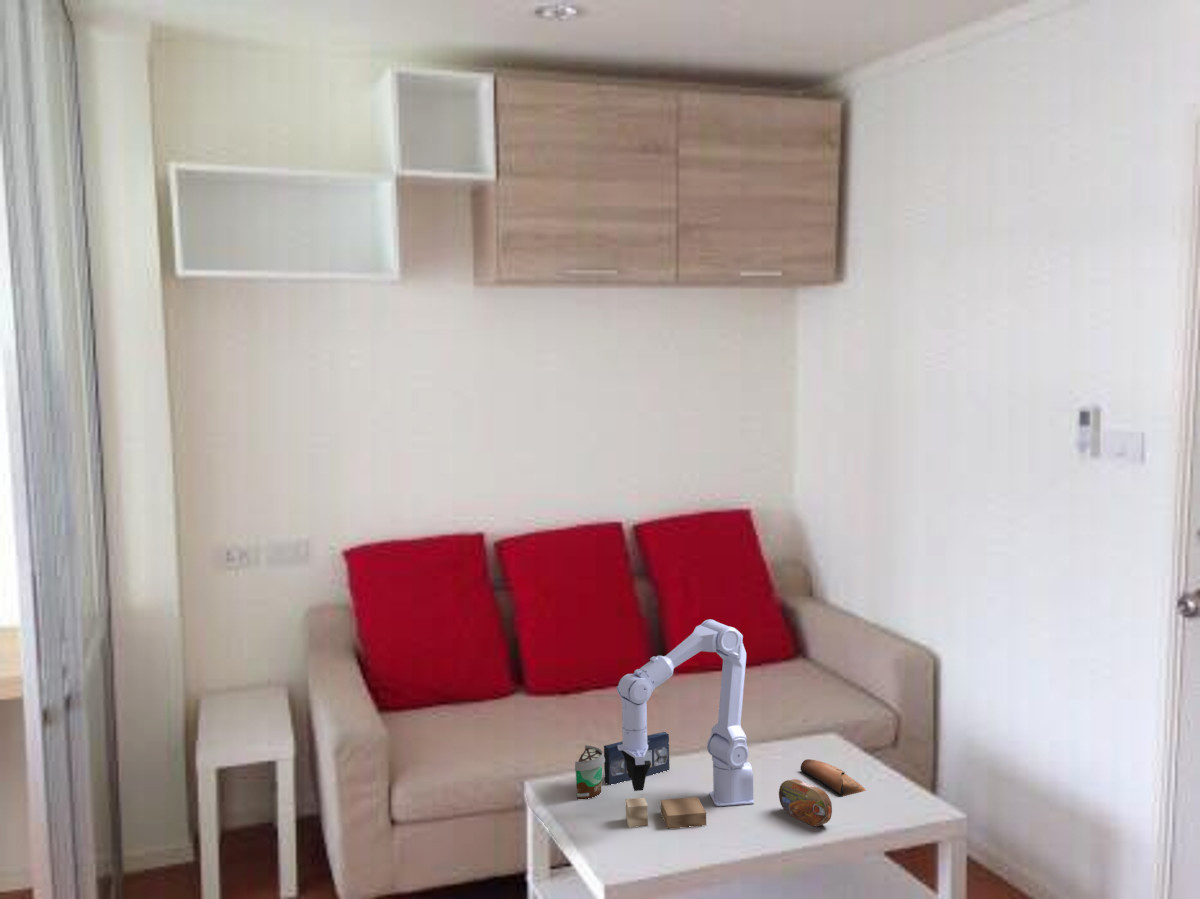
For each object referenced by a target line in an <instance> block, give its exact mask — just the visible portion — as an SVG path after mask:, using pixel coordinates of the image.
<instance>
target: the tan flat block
mask: <svg viewBox="0 0 1200 899" xmlns="http://www.w3.org/2000/svg"><path fill="white" fill-rule="evenodd" d="M660 814H661V816H662V818H664V819H663V821H664V824H665V825H667V826H666V827H668V828H673V829H681V828H680V827H686V828H690V827H689V826H698V827H703V826H702V825H706V826H707V812H706V810H705V808H704V806H703V805H702V802H701V800H700V799H699V797H698V796H693V797H681V798H680V797H679V798H669V799H660ZM668 828H667V829H668Z"/></svg>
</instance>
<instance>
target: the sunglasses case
mask: <svg viewBox="0 0 1200 899" xmlns="http://www.w3.org/2000/svg"><path fill="white" fill-rule="evenodd" d="M801 762H802V763H801V765H800V771H801V772H802V773H805V774H806V775H808V776H810V777H813V778H815V779H816V780H817V781H820V782H821V783H822V784H824V785H826V786H827V787H829V788H830V789H831V790H833V791H835V792H836V793H838V795H839V794H840V795H841V796H842V797H847V796H850V795H851V796H852V795H854V794H859V793H862V792H865V791H867V790H866V788H865V787H864V786H862V784H860V783H859V782H858V781H856V780H855V779H854V778H852V777H851V776H849V775H848V774H846V772H845V771H844V770H842V769H841V768H839V767H836V766H833V765H831V764H829V763H827V762H823V761H821V760H816V759H808V758H807V759H804V760H803V761H801Z"/></svg>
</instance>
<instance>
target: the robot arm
mask: <svg viewBox="0 0 1200 899" xmlns="http://www.w3.org/2000/svg"><path fill="white" fill-rule="evenodd" d="M743 638H744V635H743V634H742V633H741V632H740V631H739V630H738V629H737V628H735V627H732V626H730V625H729V626H728V625H726V624H723V623H720V622H719V621H716V620H714V619H706V620H704V621H703V622H701V624H699V625H696V626H695V628H694V630H693V632H692V633H691V634H690V635H688V636H687V637H686V638H685V639H684V640H683V641H682V642H681V643H679V644H678V645H676V647H675V648H673V649H672V650H670V652H668V653H667V654H666V655H664V656H663V655H657V656H652V657H650V658H649V660H650V661H648V662H647V663H645V664H644V665H643V666H641V667H640V668H637V669H635V670H634V672H633V673H627V674H625V675H624V676H622V677H621V678H620V680H619V681H618V685H617V686H616V691H617V694H618V695H619V696H620V699H621V700H620V702H621V725H622V726H621V727H622V730H621V731H622V741H623V744H622V745H618V750H620V751H622V753H623V755H624V758H625V762H626V767H627V772H628V776H629V778H631V779H632V780H631V783H632V789H633V792H639V791H644V787H645V783H646V778H647V776H646V775H647V772H648V770H649V768H650V766H651V762H650V761H644V756H645V754H646V752H647V750H648V744H647V735H648V717H647V716H648V713H647V712H648V711H647V710H648V709H647V706H648V705H647V702H648V700H649V699H650V698H651V696H652V693H653V692H654V691H655V690H656V688H658V687H659V686H661V685H662V684H663V683H664V682H666V681H667V680H668V679H670V678H671V677H672V676H673V675H674V669H675V668H677V667H678V666H680V665H681V664H683V663H684V662H686V661H687V660H690V658H693V656H695V655H697V654H698V653H700V652H707V653H716V654H717V655H719V657H720V658H721V659H722V670H721V680H720V681H721V682H720V692H719V693H720V694H719V705H718V718H717V723H716V724H714V725H713V726H712V728H711V733H710V736H709V738H708V740H707V743H706V750H707V752H708V754H709V755H710V756H711V761H712V770H713V771H712V776H713V777H712V782H713V786H712V787H713V788H712V789H713V790H711V791H709V792H708V794H709V796H710V798H711V800H712V802H713V803H714V805H715V806H716V807H722V806H723V807H725V806H726V807H727V806H738V805H751V804H755V800H754V774H753V768H752V767H753V766H752V765H751V762H749V761H748V758H749V755H750V754H749V748H748V746H747V741H748V739H747V735H746V733H745V731H744V730H743V728H742V726H741V722H742V714H743V701H744V700H743V699H744V688H745V676H746V667H747V666H746V664H747V652H746V649H745V648H746V647H745V646H744V643H743V642H744V641H743Z"/></svg>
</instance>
